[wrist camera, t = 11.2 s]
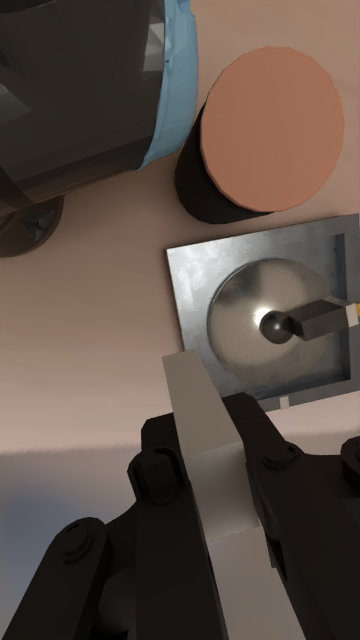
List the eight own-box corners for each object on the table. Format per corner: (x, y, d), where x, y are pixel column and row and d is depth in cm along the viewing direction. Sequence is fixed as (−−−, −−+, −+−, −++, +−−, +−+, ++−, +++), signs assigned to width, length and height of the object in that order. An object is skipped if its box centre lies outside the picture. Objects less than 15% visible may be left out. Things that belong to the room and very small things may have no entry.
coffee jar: (270, 200, 41) (364, 169, 24) (198, 240, 41) (239, 238, 24) (235, 116, 38) (314, 13, 21) (158, 159, 38) (172, 92, 21)
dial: (227, 397, 45) (241, 422, 38) (191, 283, 40) (200, 290, 34) (339, 358, 45) (370, 376, 39) (316, 240, 41) (348, 240, 35)
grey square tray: (164, 249, 41) (167, 249, 37) (339, 215, 43) (362, 212, 38) (194, 412, 47) (200, 429, 43) (347, 377, 49) (367, 391, 44)
